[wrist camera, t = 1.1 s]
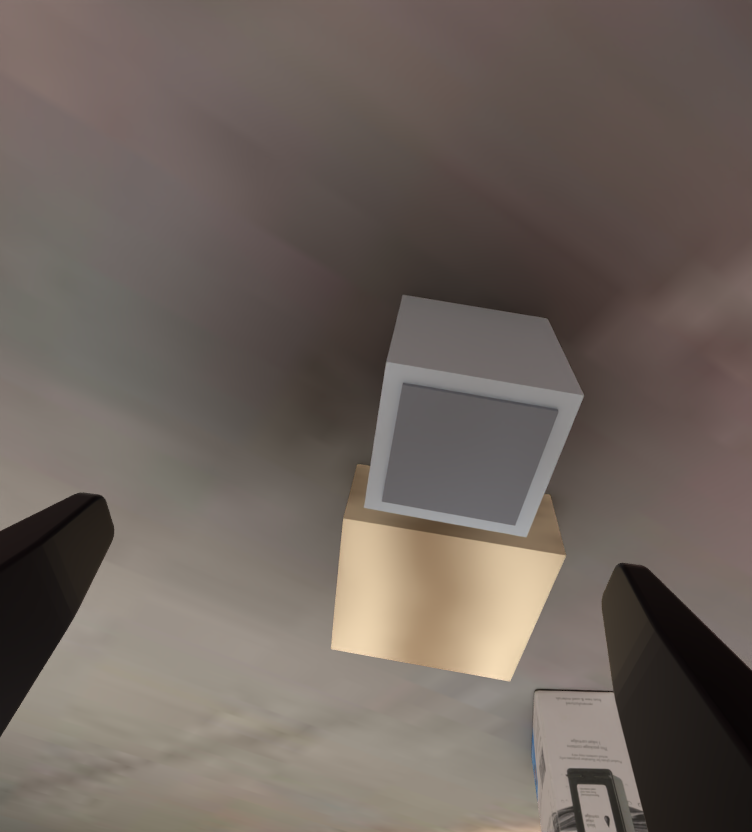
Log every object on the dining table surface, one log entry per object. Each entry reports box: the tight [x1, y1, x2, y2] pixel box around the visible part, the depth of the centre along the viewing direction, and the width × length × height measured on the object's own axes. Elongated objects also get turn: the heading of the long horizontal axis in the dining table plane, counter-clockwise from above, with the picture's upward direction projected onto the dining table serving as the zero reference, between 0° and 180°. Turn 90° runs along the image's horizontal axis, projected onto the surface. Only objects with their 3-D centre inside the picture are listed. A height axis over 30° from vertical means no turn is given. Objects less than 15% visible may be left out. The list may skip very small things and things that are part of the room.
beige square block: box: [331, 464, 566, 681], centre depth 24 cm, size 9×9×4 cm
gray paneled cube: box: [364, 295, 584, 537], centre depth 18 cm, size 6×6×6 cm
